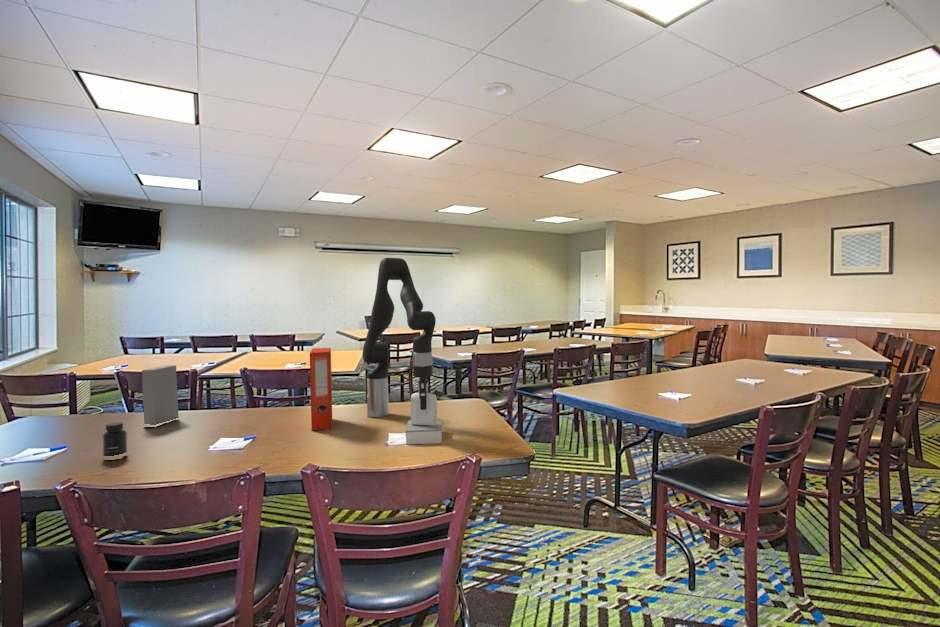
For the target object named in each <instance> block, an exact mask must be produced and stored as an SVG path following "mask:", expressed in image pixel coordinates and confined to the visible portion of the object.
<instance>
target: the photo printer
mask: <svg viewBox="0 0 940 627" xmlns="http://www.w3.org/2000/svg"><path fill="white" fill-rule="evenodd" d="M421 396H425V394H421ZM419 397H420V394H419V392H415V393H412V394H411V396H410V420H411V424H414V425H429V426H435V425H437V419H438V403H437V402H438V401H437V395H436V394H434V393H433V392H432V393H431V392H428V393H427V394H426V397H427V399H426V410H421V409H420V399H419Z"/></svg>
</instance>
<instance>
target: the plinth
mask: <svg viewBox="0 0 940 627" xmlns="http://www.w3.org/2000/svg"><path fill="white" fill-rule="evenodd" d="M442 437H443V436H442V419H441V418H437V425H435V426H429V425H414V424H411V419H410V420H407V424H406V430H405V442H406V443H405V445H424V444H425V445H427V444H443V441H442V440H443V439H442Z"/></svg>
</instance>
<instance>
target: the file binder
mask: <svg viewBox="0 0 940 627" xmlns="http://www.w3.org/2000/svg"><path fill="white" fill-rule="evenodd" d="M309 370H310V374H309V375H310V379H309V380H310V381H309V382H310V383H309V384H310V415H311V416H310V419H311V423H310V424H311V431H313V430H316V431H322V430H321V429H329V430H332V427H333V426H332V425H333V398H332V397H333V395H332V394H333V393H332V390H333V389H332V388H333V387H332V385H333V384H332V348H331V347H318V348H317V347H315V348H312V349H311V350H310V352H309Z"/></svg>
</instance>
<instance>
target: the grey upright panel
mask: <svg viewBox="0 0 940 627" xmlns="http://www.w3.org/2000/svg"><path fill="white" fill-rule="evenodd" d="M141 381H142V382H141V383H142V384H141V385H142V401H143V402H142V403H143V404H142V406H143V422H144V423H143V425H144V424H150V425H156V424H159V423H163V422H166V421H170V420H173V419H176V418H179V419H180V416H179V401H178V379H177V365H169V364H168V365H162V366H156V367H151V368H147V369H146V368H145V369H142V370H141Z"/></svg>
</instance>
